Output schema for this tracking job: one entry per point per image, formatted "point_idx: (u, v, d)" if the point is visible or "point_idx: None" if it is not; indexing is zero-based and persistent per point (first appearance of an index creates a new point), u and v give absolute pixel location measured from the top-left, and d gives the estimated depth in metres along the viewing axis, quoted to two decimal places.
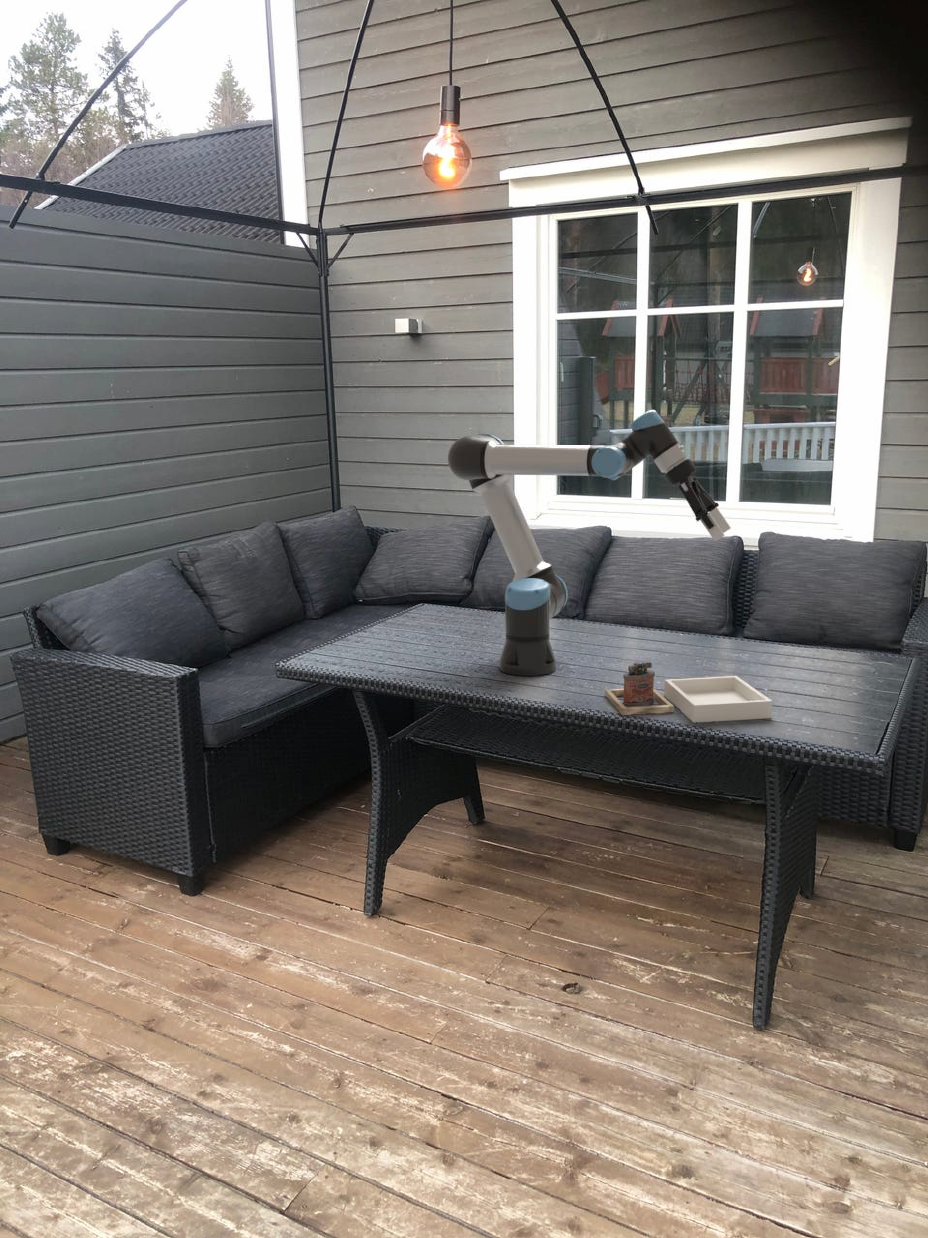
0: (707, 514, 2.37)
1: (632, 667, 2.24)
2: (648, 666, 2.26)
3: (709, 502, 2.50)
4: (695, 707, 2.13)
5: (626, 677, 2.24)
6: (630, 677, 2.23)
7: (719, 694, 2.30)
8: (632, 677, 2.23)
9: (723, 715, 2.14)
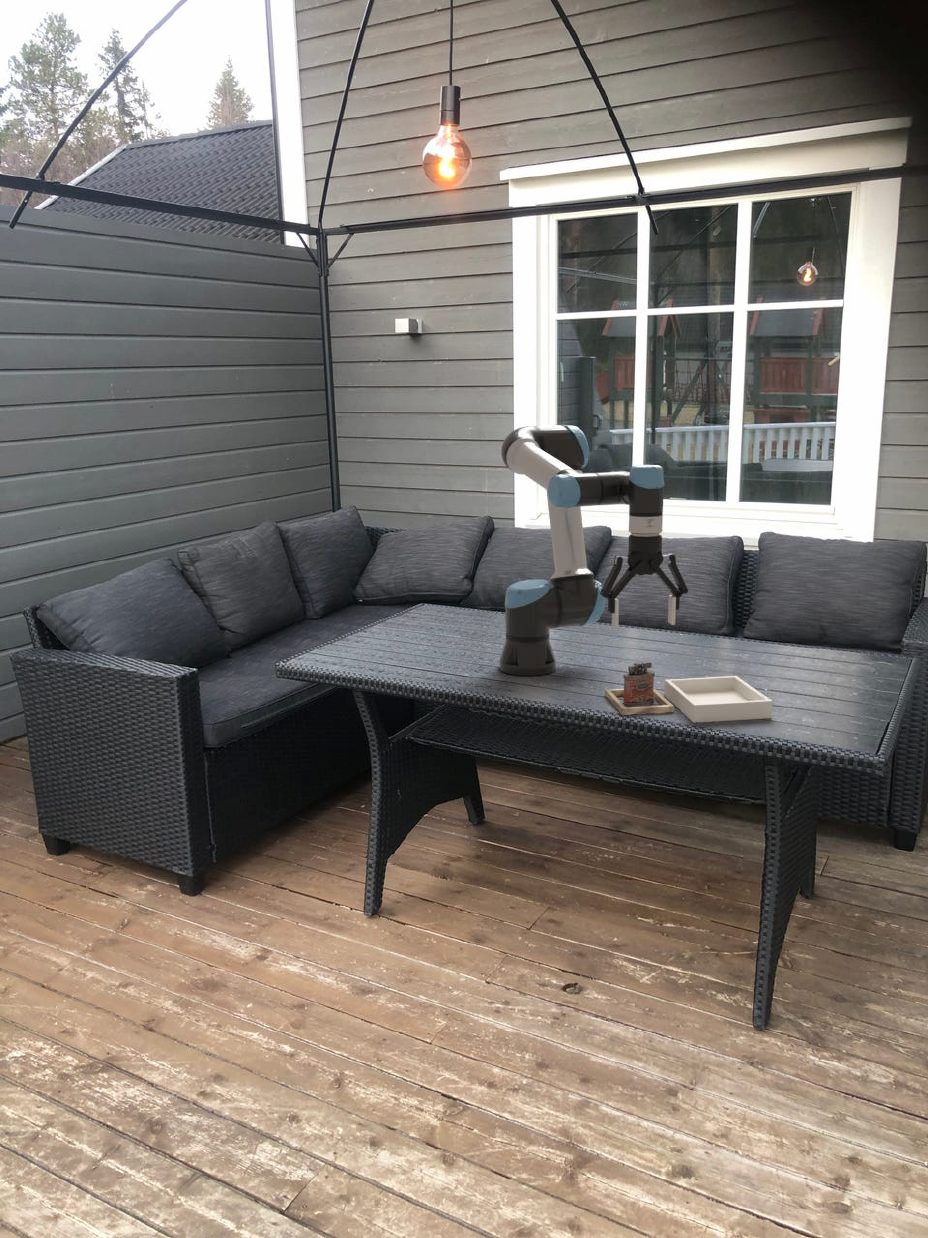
0: (611, 599, 2.20)
1: (632, 667, 2.24)
2: (648, 666, 2.26)
3: (669, 587, 2.22)
4: (695, 707, 2.13)
5: (626, 677, 2.24)
6: (630, 677, 2.23)
7: (719, 694, 2.30)
8: (632, 677, 2.23)
9: (723, 715, 2.14)
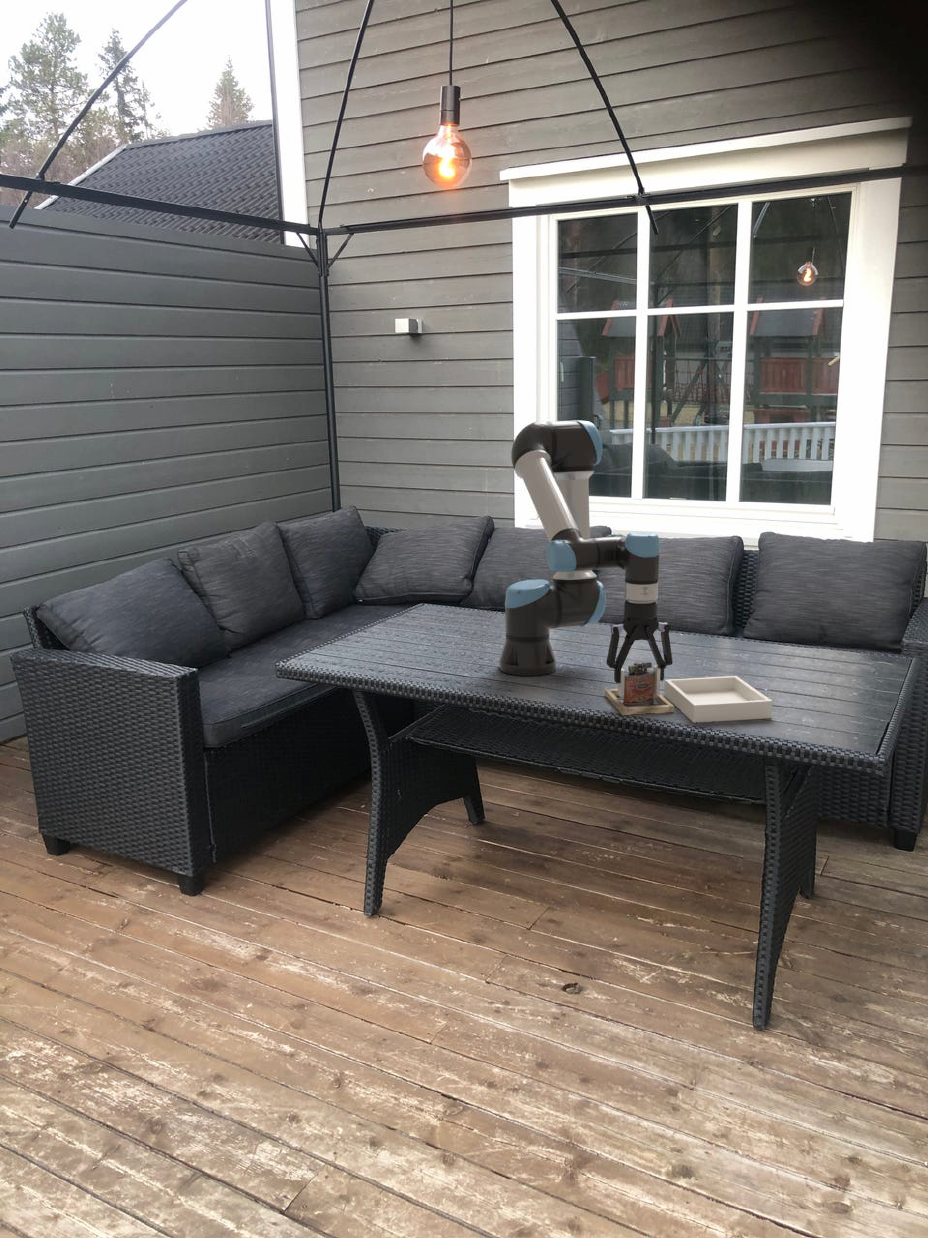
0: (618, 670, 2.24)
1: (632, 667, 2.24)
2: (648, 666, 2.26)
3: (655, 657, 2.25)
4: (695, 707, 2.13)
5: (626, 677, 2.24)
6: (630, 677, 2.23)
7: (719, 694, 2.30)
8: (632, 677, 2.23)
9: (723, 715, 2.14)
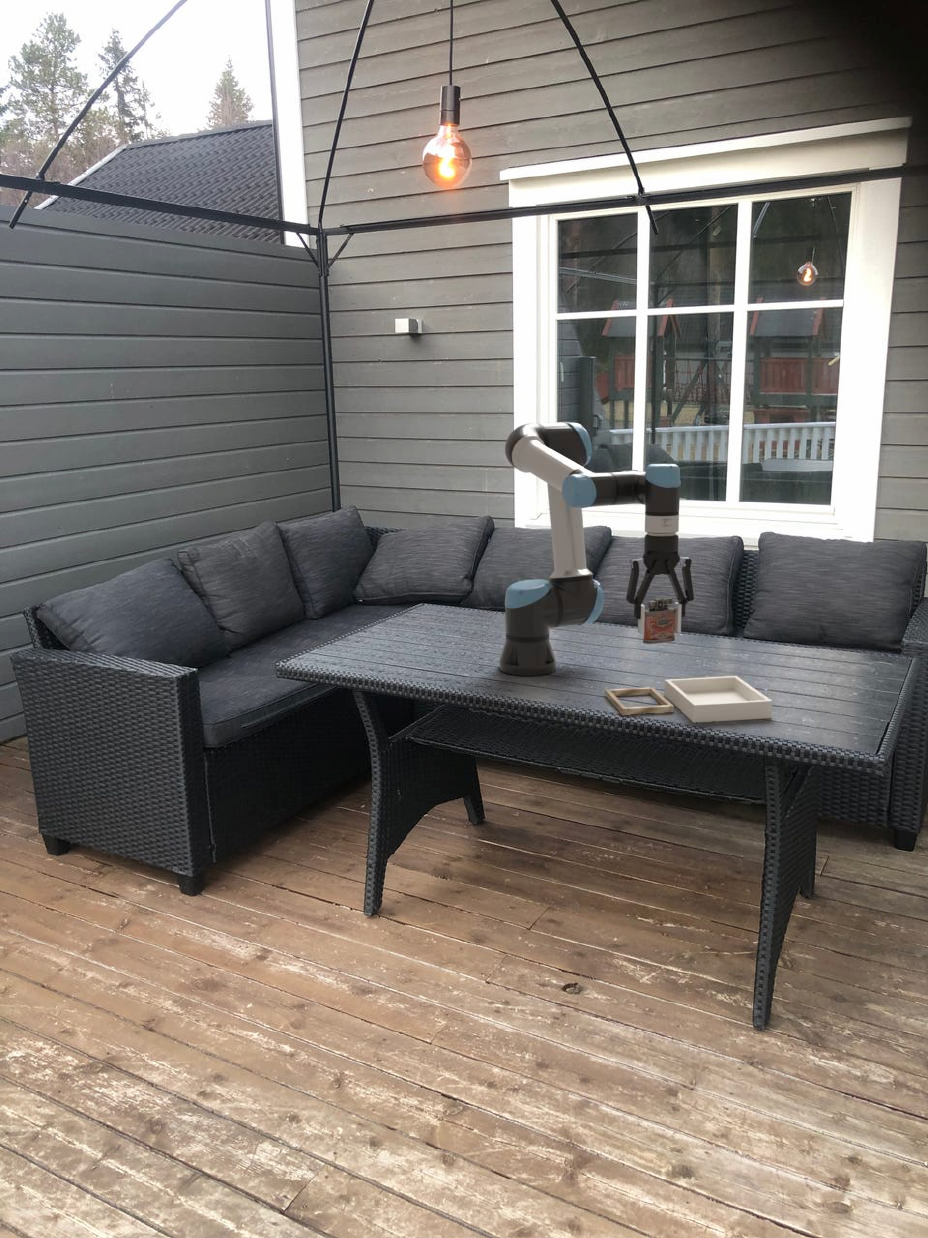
0: (638, 605, 2.19)
1: (652, 603, 2.19)
2: (669, 602, 2.21)
3: (676, 592, 2.20)
4: (695, 707, 2.13)
5: (646, 613, 2.19)
6: (650, 613, 2.19)
7: (719, 694, 2.30)
8: (652, 612, 2.19)
9: (723, 715, 2.14)
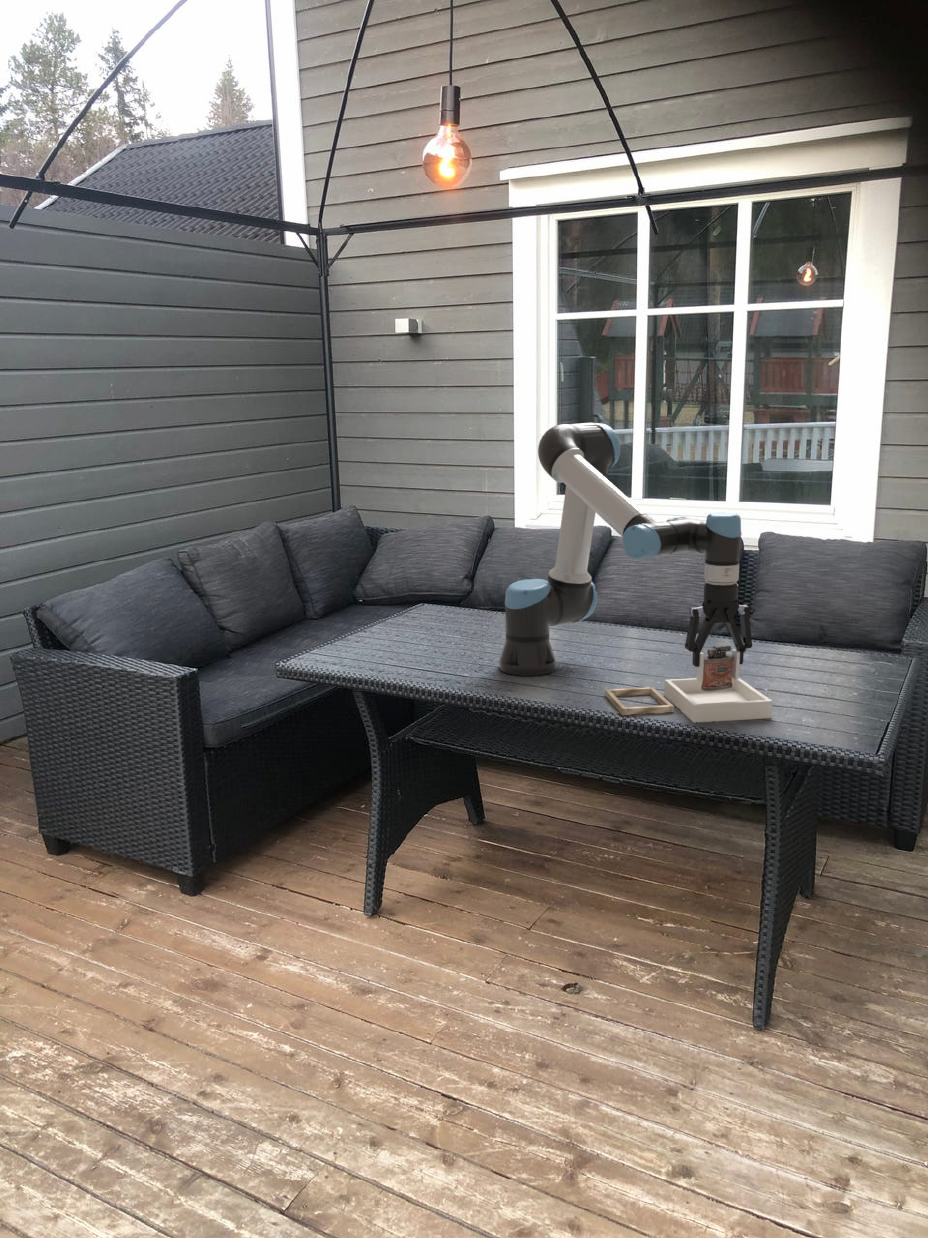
0: None
1: (711, 650, 2.20)
2: (727, 649, 2.22)
3: (735, 640, 2.21)
4: (695, 707, 2.13)
5: (705, 660, 2.20)
6: (710, 660, 2.19)
7: (719, 694, 2.30)
8: (712, 660, 2.20)
9: (723, 715, 2.14)
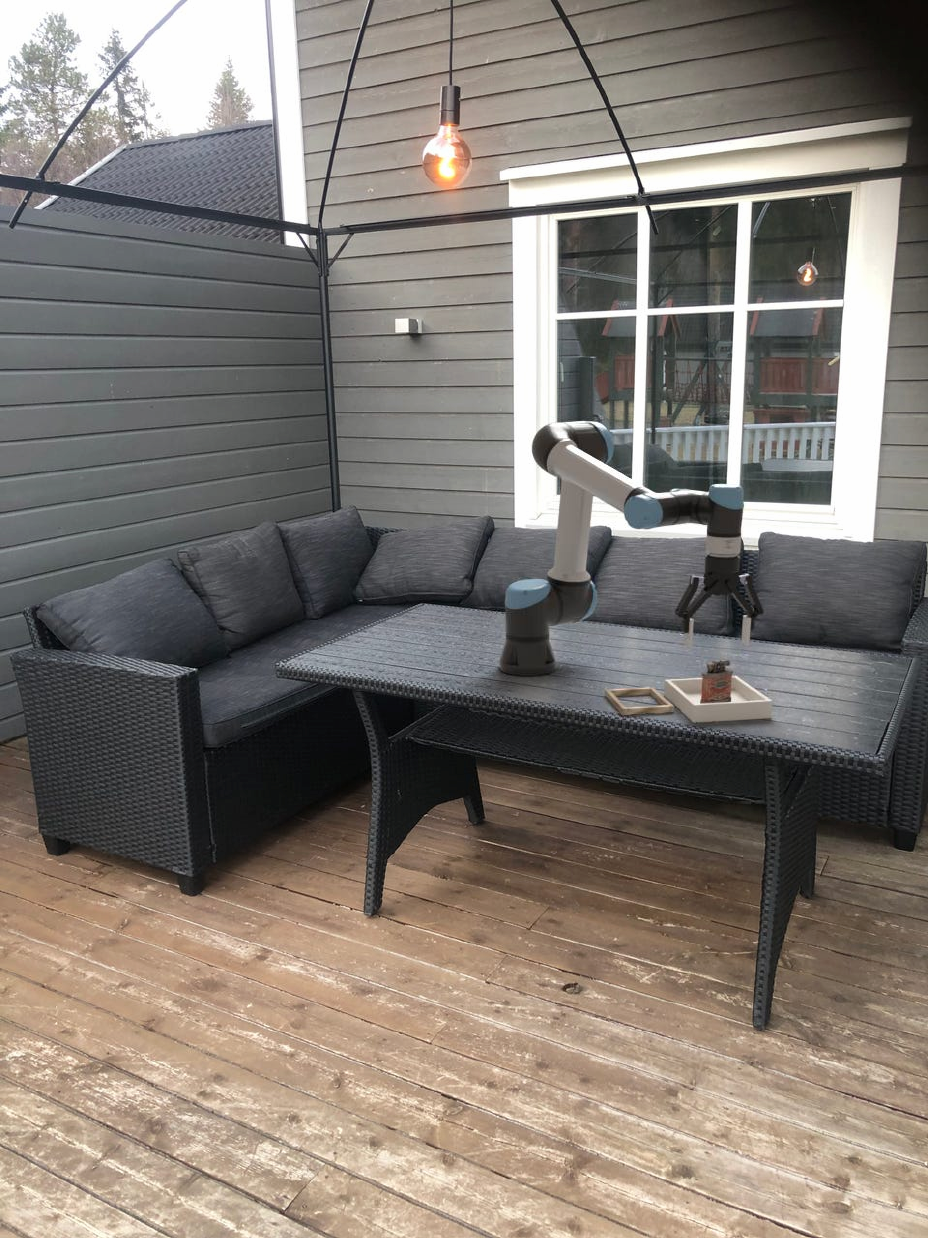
0: (686, 619, 2.18)
1: (711, 665, 2.21)
2: (727, 664, 2.23)
3: (744, 608, 2.19)
4: (695, 707, 2.13)
5: (705, 675, 2.21)
6: (709, 675, 2.20)
7: None
8: (711, 675, 2.20)
9: (723, 715, 2.14)
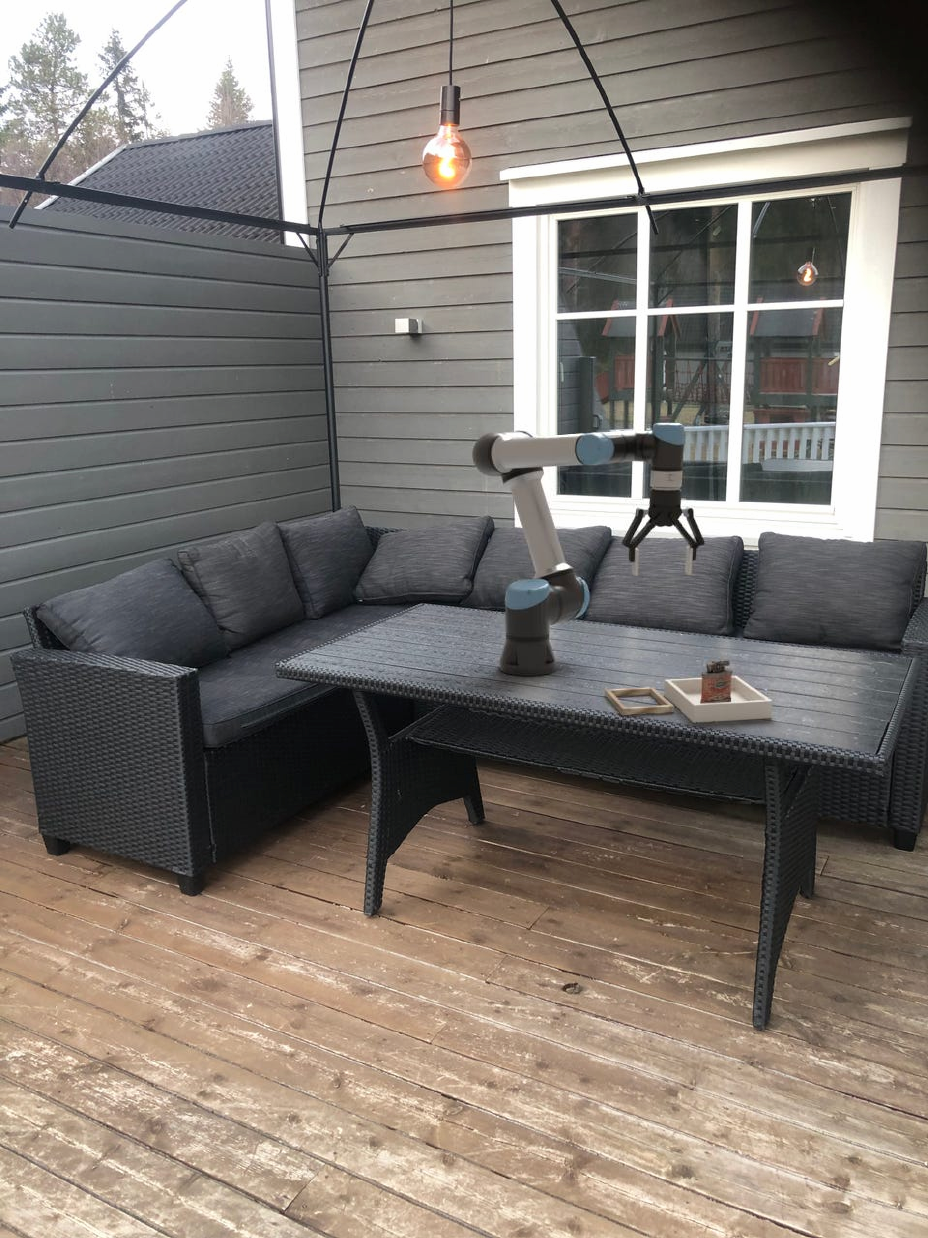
0: (632, 548, 2.35)
1: (710, 665, 2.21)
2: (726, 664, 2.23)
3: (686, 539, 2.36)
4: (695, 707, 2.13)
5: (704, 675, 2.21)
6: (709, 675, 2.20)
7: None
8: (711, 675, 2.20)
9: (723, 715, 2.14)
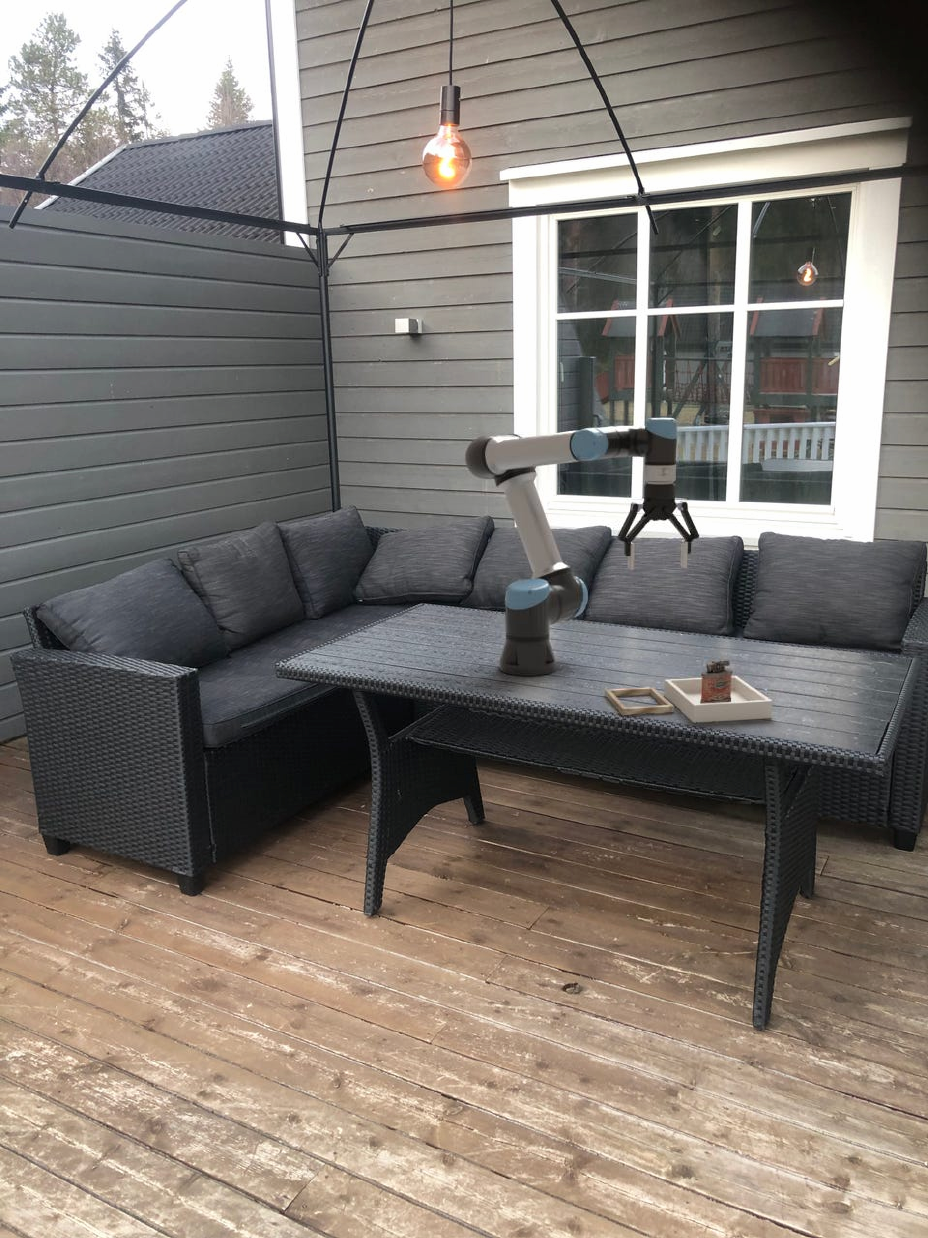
0: (627, 543, 2.37)
1: (710, 665, 2.21)
2: (726, 664, 2.23)
3: (681, 533, 2.38)
4: (695, 707, 2.13)
5: (704, 675, 2.21)
6: (709, 675, 2.20)
7: None
8: (711, 675, 2.20)
9: (723, 715, 2.14)
